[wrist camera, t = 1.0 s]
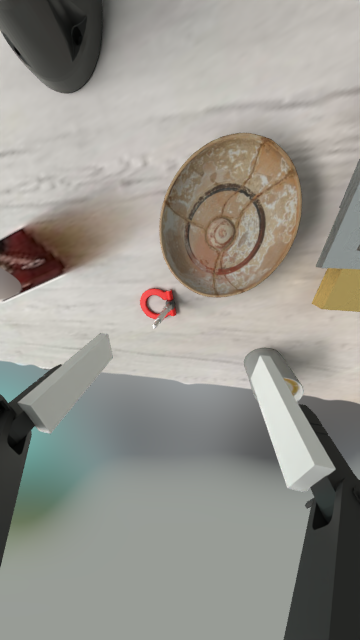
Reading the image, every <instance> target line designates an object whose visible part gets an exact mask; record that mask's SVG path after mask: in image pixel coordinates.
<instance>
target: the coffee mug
mask: <svg viewBox="0 0 360 640" xmlns="http://www.w3.org/2000/svg"><path fill="white" fill-rule="evenodd" d="M260 355H264V356H270V357H271V359H272V360H273V362H274V364H275V365H276V367H277V369H278V371H279V372H280V374H281V376H282V377H283V379H284V381H285V383H286V384H287V386H288V388H289V389H290V391H291V393H292V395H293V396H294V398H295V400H296V401H299V399H300V398H301V397H302V396H303V392H304V390H303V387H302V385H301V384H300V382H299V381H298V379H297V378H296V376H295V375H294V373H293V372H292V371H291V369H290V368H289V366H288V365H287V363H286V362H285V360H284V359H283V358H282V356H281V355H280V353H279V352H277V351H276V350H274V349H270V348H260V349H256V350H253V351H252V352H250V353H249V354H248V355H247V356H246V357H245V360H244V366H245V369H246V372H247V375H248V378H249V381H250V384H251V387H252V390H253V394H254V396H255V398H256V400H257V401H258V399H257V396H256V393H255V390H254V387H253V384H252V381H251V376H252V374H253V372H254V369H255V367H256V364H257V362H258V359H259V357H260Z"/></svg>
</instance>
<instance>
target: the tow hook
mask: <svg viewBox="0 0 360 640" xmlns="http://www.w3.org/2000/svg"><path fill="white" fill-rule="evenodd" d="M151 295H157V296H160V297H161V298H162V299H163V300H167V301H166V306H165V307H164V308H163V311H162V312H161V313H160V314H156V313H153V312H151V311H150V310H149V309H148V307H147V299H148V297H149V296H151ZM140 305H141V308H142V310H143V312H144V313H145V314H146V315H147V316H149V317H150V318H152V319H156V320H155V321H156V322H155V323H154V324H153V328H156V327H157V326H158V324H160V323H161V322H162V320H163V319H164V318H166V317H167V316H168V315H171V316H175V315H176V310H175V303H174V299H173V294H172V290H167V291H165V292H164V291H162V290H160V289H155V288H153V289H149V290H147V291H145V292H144V293H143V294H142V296H141V300H140Z"/></svg>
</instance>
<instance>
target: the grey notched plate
mask: <svg viewBox="0 0 360 640" xmlns="http://www.w3.org/2000/svg"><path fill="white" fill-rule="evenodd" d="M339 208H340V210H339V213H338V215H337V217H336V220H335V222H334V225H333V227H332V229H331V232H330V234H329V236H328V239H327V241H326V243H325V246H324V248H323V251H322V253H321V255H320V258H319V260H318V262H317V265H316V267H320V268H328V269H327V271H326V273H325V276H324V278H323V280H322V282H321V284H320V286H319V289H318V291H317V293H316V295H315V297H314V299H313V302H312V304H314V305H316V306H317V307H319V308H321V309H328V310H342V311H356V312H360V251H357V249H358V247H359V245H360V159H359V162H358V164H357V166H356V169H355V171H354V174H353V176H352V178H351V181H350V183H349V186H348V188H347V190H346V193H345V195H344V198H343V200H342V202H341V205H340V207H339Z"/></svg>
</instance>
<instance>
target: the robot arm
mask: <svg viewBox="0 0 360 640" xmlns="http://www.w3.org/2000/svg"><path fill="white" fill-rule="evenodd" d="M0 31H1V32H2V34H3V36H4V37H5V39H6V41H7V42H8V44H9V45H10V47H11V48H12V49H13V51H14V52H15V54H16V55H17V56H18V57H19V59H20V60H21V61H22V62H23V63H24V65H25V66H26V67H27V68H28V69H29V70H30V71H31V72H32V73H33V74H34V75H35V76H36V77H37V78H38V79H39V80H40V81H41V82H42V83H44V84H45V85H46V86H48V87H49V88H51V89H53V90H55V91H57V92H61V93H70V92H74V91H76V90H78V89H80V88H81V87H82V86H83V85H84V84H85V83H86V82H87V81H88V79H89V78H90V76H91V74H92V72H93V70H94V68H95V65H96V62H97V59H98V55H99V51H100V45H101V38H102V0H0ZM112 358H113V355H112V350H111V345H110V341H109V336H108V334H103V333H100V334H99V335H97V336H96V337H95V338H94V339H93V340H91V341H90V342H89V343H88V344H87V345H86V346H84V347H83V348H82V349H81V350H80V351H78V352H77V353H76V354H75V355H74V356H72V357H71V358H70V359H69V360H68V361H66V362H65V363H64V364H63V365H61V364H60V365H58V366H56V367H54V368H52V369H51V370H49V371H48V372H47V373H46V374H44V376H43V377H41V378H39V379H38V380H37V382H34V383H33V384H32V385H31V386H29V387H28V388H27V389H26V390H25V391H23V392H22V393H21V394H20V395H18V396H17V397H16V398H15V399H13V400H12V401H11V402H9V403H7V401H6V400H5V399H4V397H3V396H2V395H0V566H1V562H2V558H3V553H4V549H5V545H6V541H7V536H8V532H9V528H10V524H11V520H12V515H13V511H14V507H15V503H16V498H17V495H18V490H19V486H20V482H21V477H22V473H23V469H24V465H25V460H26V456H27V452H28V448H29V444H30V440H31V435H32V434H31V429H32V428H33V427H34V426H36V427H37V429H38V430H39V431H41V432H45V433H52V431H53V430H54V429H55V428H56V426H57V425H58V424H59V423H60V422H61V420H62V419H63V418H64V416H65V415H66V414H67V413H68V412H69V411H70V409H71V408H72V407H73V406H74V404H75V403H76V402H77V401H78V400H79V398H80V397H81V396H82V395H83V393H84V392H85V391H86V390H87V389H88V387H89V386H90V385H91V384H92V382H93V381H94V380H95V379H96V377H97V376H98V375H99V374H100V373H101V372H102V370H103V369H104V368H105V367H106V365H107V364H108V363H109V362H110V361H111V359H112ZM251 381H252V384H253V387H254V390H255V393H256V396H257V399H258V402H259V405H260V408H261V411H262V413H263V417H264V420H265V423H266V426H267V429H268V432H269V434H270V438H271V440H272V443H273V446H274V449H275V452H276V455H277V458H278V461H279V464H280V467H281V470H282V473H283V476H284V478H285V482H286V484H287V487H288V488H289V489H293V490H297V491H302V492H306V491H307V490H308V489H310V488H311V490H312V492H313V495H314V498H313V499H311V500H310V501H308V502H307V503H306V505H305V506H306V508H309V507H311V510H310V515H309V520H308V525H307V529H306V534H305V539H304V544H303V549H302V554H301V558H300V563H299V568H298V573H297V578H296V583H295V588H294V592H293V597H292V602H291V607H290V612H289V617H288V622H287V626H286V631H285V636H284V640H360V480H358V479H357V477H356V476H355V475H354V474H353V472H352V470H351V469H350V467H349V466H348V464H347V463H346V461H345V460H344V458H343V456H342V455H341V453H340V452H339V450H338V449H337V447H336V446H335V444H334V442H333V441H332V439H331V438H330V437H329V436H328V433H327V432H326V430H325V429H324V427H322V424H321V423H320V421H319V419H318V418H317V416H316V415H315V414H314V413H313V412H312V411H311V410H310V409H309V408H308V407H307V406H306V405H300V404H298V403H297V401H296V400H295V398H294V396H293V395H292V393H291V391H290V389H289V388H288V386H287V384H286V383H285V381H284V379H283V377H282V376H281V374H280V372H279V371H278V369H277V367H276V365H275V364H274V362H273V360H272V359H271V357H270V356H264V355H260V357H259V359H258V362H257V364H256V367H255V369H254V372H253V374H252V376H251Z"/></svg>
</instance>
